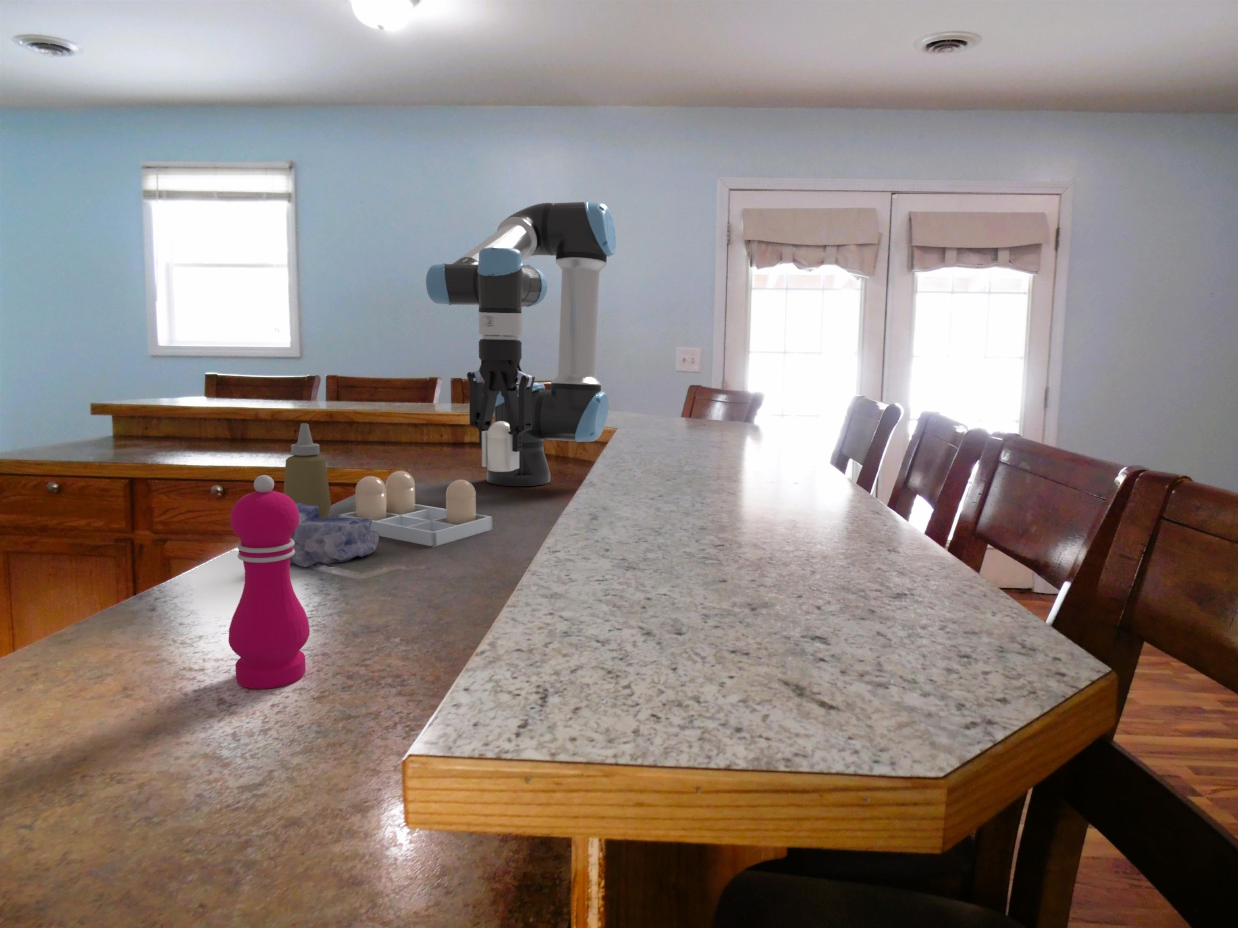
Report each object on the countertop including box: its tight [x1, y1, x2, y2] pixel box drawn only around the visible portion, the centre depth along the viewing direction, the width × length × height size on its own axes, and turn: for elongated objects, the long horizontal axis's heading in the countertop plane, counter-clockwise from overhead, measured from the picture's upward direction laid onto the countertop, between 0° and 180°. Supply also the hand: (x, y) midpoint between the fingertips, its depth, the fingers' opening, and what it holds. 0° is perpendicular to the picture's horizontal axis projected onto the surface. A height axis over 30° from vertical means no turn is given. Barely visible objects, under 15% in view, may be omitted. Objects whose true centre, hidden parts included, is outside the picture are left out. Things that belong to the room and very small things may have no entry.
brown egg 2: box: [385, 470, 416, 515], centre depth 142 cm, size 5×5×9 cm
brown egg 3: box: [445, 479, 477, 525], centre depth 135 cm, size 5×5×9 cm
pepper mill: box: [228, 474, 311, 690], centre depth 76 cm, size 7×7×20 cm
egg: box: [487, 421, 513, 472], centre depth 143 cm, size 5×5×9 cm
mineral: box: [290, 503, 380, 568], centre depth 117 cm, size 14×10×10 cm
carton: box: [337, 503, 494, 548], centre depth 136 cm, size 15×22×3 cm
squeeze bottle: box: [282, 423, 332, 519], centre depth 138 cm, size 8×8×18 cm
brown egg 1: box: [355, 475, 386, 521], centre depth 136 cm, size 5×5×9 cm
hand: (500, 467), depth 144 cm, fingers closed on egg, 5 cm apart
